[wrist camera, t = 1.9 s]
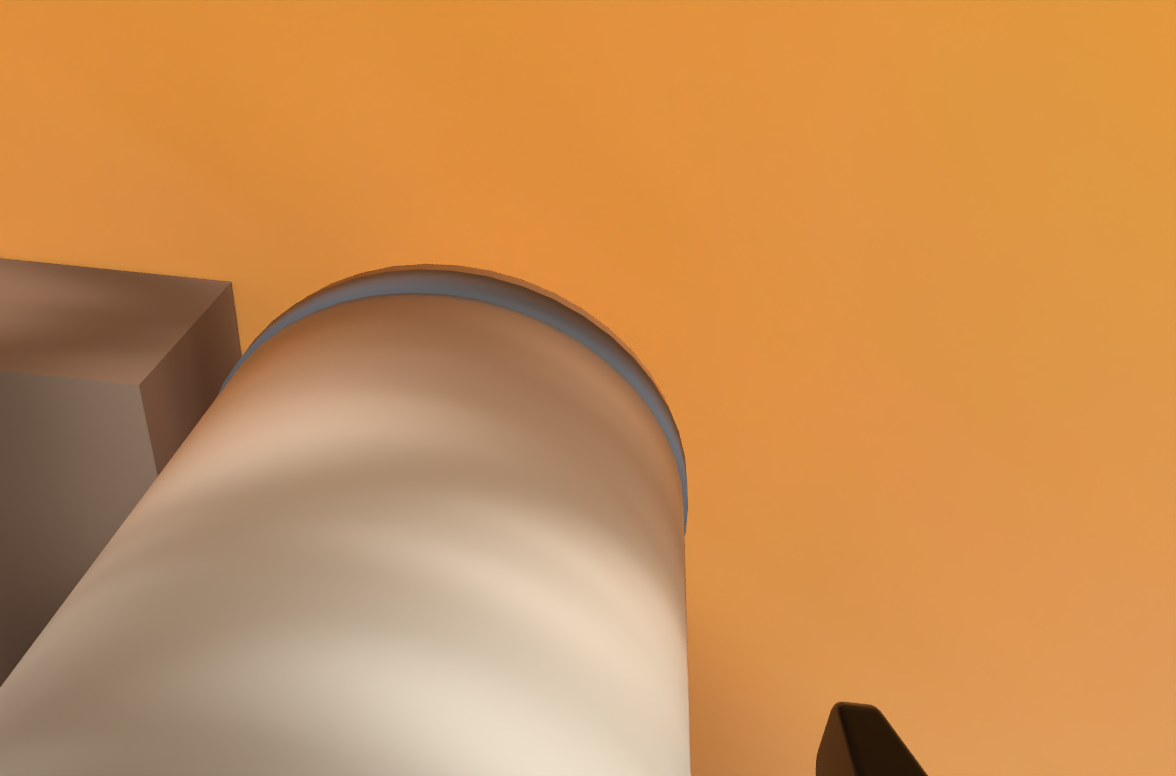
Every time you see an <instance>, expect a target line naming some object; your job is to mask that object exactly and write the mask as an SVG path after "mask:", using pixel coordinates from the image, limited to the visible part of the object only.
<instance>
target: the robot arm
mask: <svg viewBox="0 0 1176 776" xmlns="http://www.w3.org/2000/svg"><path fill="white" fill-rule="evenodd" d="M816 776H928V775H927V774H926V772H925V771H924V770H923V768H922V767H921V766H920V764H919V763H918V762H917V760H916V759H915V757H914V756H913V755H912V753H911V752H910V751H909V749H908V748H907V747H906V745H905V744H904V743H903V741H902V740H901V738H900V737H899V736H898V734H897V733H896V732H895V730H894V729H893V728H892V726H891V725H890V723H889V722H888V721H887V719H886V718H885V717H884V715H883V714H882V713H881V711H880V710H878V709H877V708H876V707H874V706H872V705H868V704H859V703H850V702H838V703H836V704H835V705H834V706H833V708H832V709H831V712H830V715H829V718H828V721H827V724H826V727H825V731H824V734H823V737H822V740H821V743H820V746H819V749H818V753H817V759H816Z"/></svg>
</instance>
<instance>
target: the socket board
mask: <svg viewBox="0 0 1176 776" xmlns="http://www.w3.org/2000/svg"><path fill="white" fill-rule="evenodd" d="M240 358H241V351H240V344H239V336H238V329H237V322H236V314H235V307H234V300H233V292H232V285H231V282H226V281H216V280H206V279H196V278H187V277H177V276H167V275H157V274H147V273H138V272H128V271H118V270H108V269H99V268H89V267H79V266H69V265H59V264H50V263H40V262H30V261H20V260H10V259H1V258H0V687H1V686H2V685H3V683H4V682H5V680H6V679H7V678H8V676H9V675H10V674H11V672H12V671H13V670H14V668H15V667H16V666H17V664H18V663H19V662H20V660H21V659H22V658H23V656H24V655H25V654H26V652H27V651H28V650H29V648H30V647H31V646H32V644H33V643H34V642H35V640H36V639H37V638H38V636H39V635H40V634H41V632H42V631H43V630H44V628H45V627H46V626H47V624H48V623H49V622H50V620H51V619H52V618H53V616H54V615H55V614H56V612H57V611H58V610H59V608H60V607H61V605H62V604H63V603H64V601H65V600H66V599H67V597H68V596H69V595H70V593H71V592H72V591H73V589H74V588H75V587H76V585H77V584H78V583H79V581H80V580H81V579H82V577H83V576H84V575H85V573H86V572H87V571H88V569H89V568H90V567H91V565H92V564H93V563H94V561H95V560H96V559H97V557H98V556H99V555H100V553H101V552H102V551H103V549H104V548H105V547H106V545H107V544H108V543H109V541H110V540H111V539H112V537H113V536H114V534H115V533H116V532H117V530H118V529H119V528H120V526H121V525H122V524H123V522H124V521H125V520H126V518H127V517H128V516H129V514H130V513H131V512H132V510H133V509H134V508H135V506H136V505H137V504H138V502H139V501H140V500H141V498H142V497H143V496H144V494H145V493H146V492H147V490H148V489H149V488H150V486H151V485H152V484H153V482H154V481H155V480H156V478H157V477H158V476H159V474H160V473H161V472H162V470H163V469H164V468H165V466H166V465H167V464H168V462H169V461H170V459H171V458H172V457H173V455H174V454H175V453H176V451H177V450H178V449H179V447H180V446H181V445H182V443H183V442H184V441H185V439H186V438H187V437H188V435H189V434H190V433H191V431H192V430H193V429H194V427H195V426H196V425H197V423H198V422H199V421H200V419H201V418H202V417H203V415H204V414H205V413H206V411H207V410H208V409H209V407H210V406H211V405H212V403H213V402H214V401H215V399H216V398H217V396H218V394H219V391H220V389H221V387H222V385H223V383H224V381H225V380H226V378H227V377H228V375H229V374H230V373H231V371H232V370H233V368H234V367H235V365H236V364H237V362H238V361H239V360H240Z"/></svg>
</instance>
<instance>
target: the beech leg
mask: <svg viewBox="0 0 1176 776" xmlns="http://www.w3.org/2000/svg"><path fill="white" fill-rule="evenodd" d="M687 511H688V498H687V476H686V464H685V455H684V451H683V447H682V443H681V439H680V435H679V431H678V429H677V427H676V424H675V421H674V419H673V416H672V414H671V412H670V409H669V407H668V404H667V402H666V400H665V397H664V395H663V394H662V392H661V390H660V389H659V387H658V385H657V384H656V382H655V380H654V379H653V377H652V375H651V374H650V372H649V371H648V370H647V368H646V367H645V366H644V365H643V363H642V362H641V361H640V360H639V359H638V357H637V356H636V355H635V354H634V352H633V351H632V350H631V349H630V348H629V347H628V346H627V345H626V344H625V343H624V342H623V341H622V340H621V339H620V338H619V337H618V336H616V335H615V334H614V333H613V332H612V331H611V330H610V329H609V328H608V327H606V326H605V325H604V324H602V323H601V322H600V321H598V320H597V319H596V318H594V317H593V316H592V315H590V314H589V313H587V312H586V311H585V310H583V309H582V308H580V307H578V306H576V305H575V304H573V303H571V302H569V301H567V300H566V299H564V298H562V297H560V296H559V295H557V294H555V293H553V292H551V291H548V290H546V289H543V288H541V287H538V286H536V285H534V284H531V283H529V282H526V281H524V280H521V279H517V278H514V277H510V276H507V275H503V274H500V273H496V272H493V271H488V270H482V269H476V268H470V267H464V266H458V265H434V264H418V265H406V266H394V267H388V268H383V269H378V270H373V271H369V272H364V273H360V274H357V275H354V276H351V277H349V278H346V279H343V280H340V281H337V282H335V283H332V284H330V285H328V286H326V287H324V288H322V289H320V290H319V291H317V292H315V293H313V294H311V295H309V296H307V297H306V298H304V299H303V300H301V301H300V302H298V303H296V304H295V305H293V306H292V307H291V308H289V309H288V310H287V311H285V312H284V313H283V314H281V315H280V316H279V317H277V318H276V319H275V320H273V321H272V322H271V323H270V324H269V325H268V326H267V327H266V329H265V330H264V331H263V332H262V333H261V334H260V335H259V336H258V337H257V338H256V339H255V340H254V341H253V342H252V344H251V345H250V346H249V348H248V349H247V350H246V352H245V353H244V354H243V356H242V357H241V358H240V360H239V361H238V362H237V364H236V365H235V367H234V368H233V370H232V371H231V373H230V374H229V375H228V377H227V378H226V380H225V381H224V383H223V385H222V387H221V389H220V391H219V394H218V396H217V398H216V399H215V401H214V402H213V403H212V405H211V406H210V407H209V409H208V410H207V411H206V413H205V414H204V415H203V417H202V418H201V419H200V421H199V422H198V423H197V425H196V426H195V427H194V429H193V430H192V431H191V433H190V434H189V435H188V437H187V438H186V439H185V441H184V442H183V443H182V445H181V446H180V447H179V449H178V450H177V451H176V453H175V454H174V455H173V457H172V458H171V459H170V461H169V462H168V464H167V465H166V466H165V468H164V469H163V470H162V472H161V473H160V474H159V476H158V477H157V478H156V480H155V481H154V482H153V484H152V485H151V486H150V488H149V489H148V490H147V492H146V493H145V494H144V496H143V497H142V498H141V500H140V501H139V502H138V504H137V505H136V506H135V508H134V509H133V510H132V512H131V513H130V514H129V516H128V517H127V518H126V520H125V521H124V522H123V524H122V525H121V526H120V528H119V529H118V530H117V532H116V533H115V534H114V536H113V537H112V539H111V540H110V541H109V543H108V544H107V545H106V547H105V548H104V549H103V551H102V552H101V553H100V555H99V556H98V557H97V559H96V560H95V561H94V563H93V564H92V565H91V567H90V568H89V569H88V571H87V572H86V573H85V575H84V576H83V577H82V579H81V580H80V581H79V583H78V584H77V585H76V587H75V588H74V589H73V591H72V592H71V593H70V595H69V596H68V597H67V599H66V600H65V601H64V603H63V604H62V605H61V607H60V608H59V610H58V611H57V612H56V614H55V615H54V616H53V618H52V619H51V620H50V622H49V623H48V624H47V626H46V627H45V628H44V630H43V631H42V632H41V634H40V635H39V636H38V638H37V639H36V640H35V642H34V643H33V644H32V646H31V647H30V648H29V650H28V651H27V652H26V654H25V655H24V656H23V658H22V659H21V660H20V662H19V663H18V664H17V666H16V667H15V668H14V670H13V671H12V672H11V674H10V675H9V676H8V678H7V679H6V680H5V682H4V683H3V685H2V686H1V687H0V776H691V775H690V735H689V696H688V656H687V617H686V578H685V538H684V536H685V533H686V522H687Z"/></svg>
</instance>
